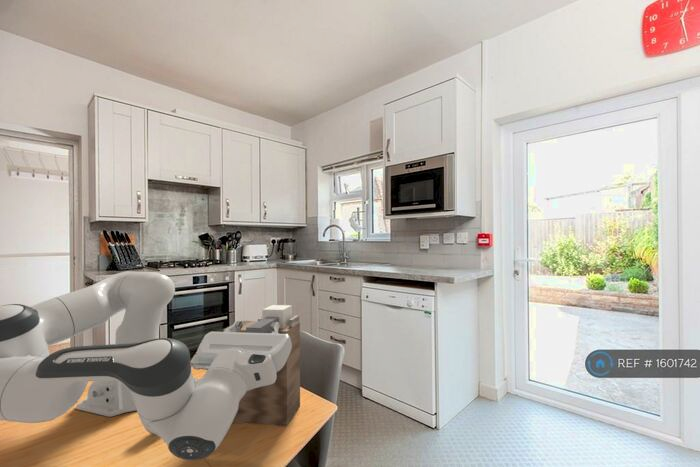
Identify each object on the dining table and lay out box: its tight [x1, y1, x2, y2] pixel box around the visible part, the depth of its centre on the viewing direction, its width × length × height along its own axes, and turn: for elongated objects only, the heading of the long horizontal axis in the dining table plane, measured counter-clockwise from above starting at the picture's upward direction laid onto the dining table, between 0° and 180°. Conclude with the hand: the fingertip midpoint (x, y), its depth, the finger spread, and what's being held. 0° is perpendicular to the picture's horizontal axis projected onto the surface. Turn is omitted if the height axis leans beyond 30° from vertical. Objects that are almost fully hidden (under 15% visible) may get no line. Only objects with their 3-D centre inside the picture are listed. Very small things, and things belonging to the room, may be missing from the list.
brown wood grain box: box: [221, 314, 301, 427], centre depth 92 cm, size 18×11×26 cm, turn 81°
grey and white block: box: [246, 304, 293, 333], centre depth 87 cm, size 6×19×5 cm, turn 171°
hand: (257, 323), depth 80 cm, fingers open, 8 cm apart
